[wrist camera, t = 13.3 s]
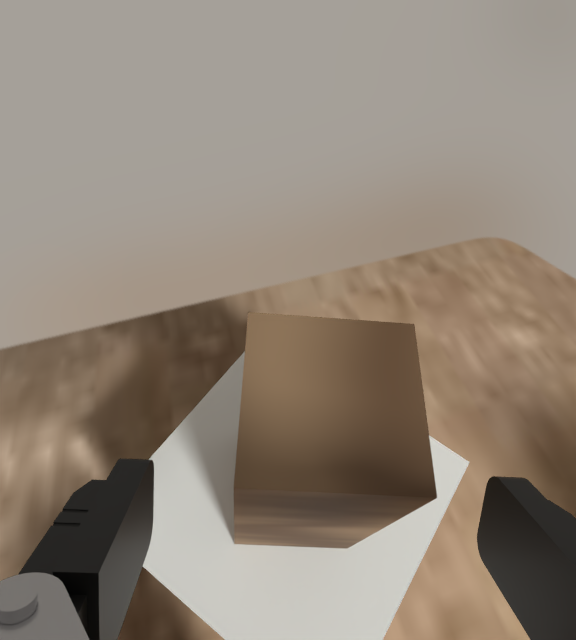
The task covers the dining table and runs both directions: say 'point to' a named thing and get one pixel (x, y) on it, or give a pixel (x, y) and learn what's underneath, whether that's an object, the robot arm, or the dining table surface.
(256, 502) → the walnut block
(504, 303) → the dining table surface
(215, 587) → the storage box
